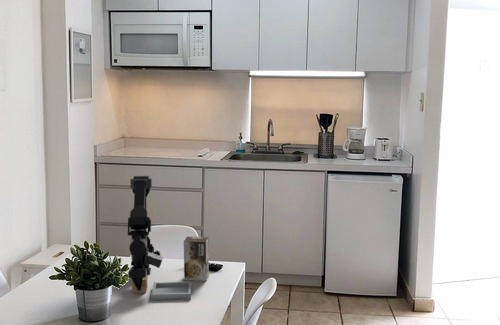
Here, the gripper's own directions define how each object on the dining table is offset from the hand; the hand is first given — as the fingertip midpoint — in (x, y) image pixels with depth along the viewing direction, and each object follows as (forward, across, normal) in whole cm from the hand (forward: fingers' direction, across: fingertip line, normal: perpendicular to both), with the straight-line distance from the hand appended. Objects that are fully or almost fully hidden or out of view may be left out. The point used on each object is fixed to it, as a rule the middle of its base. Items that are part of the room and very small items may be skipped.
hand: (140, 287), depth 211 cm
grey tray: (+1, -4, -12) cm, 13 cm away
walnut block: (+1, 0, 0) cm, 1 cm away
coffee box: (+1, +12, -21) cm, 24 cm away
